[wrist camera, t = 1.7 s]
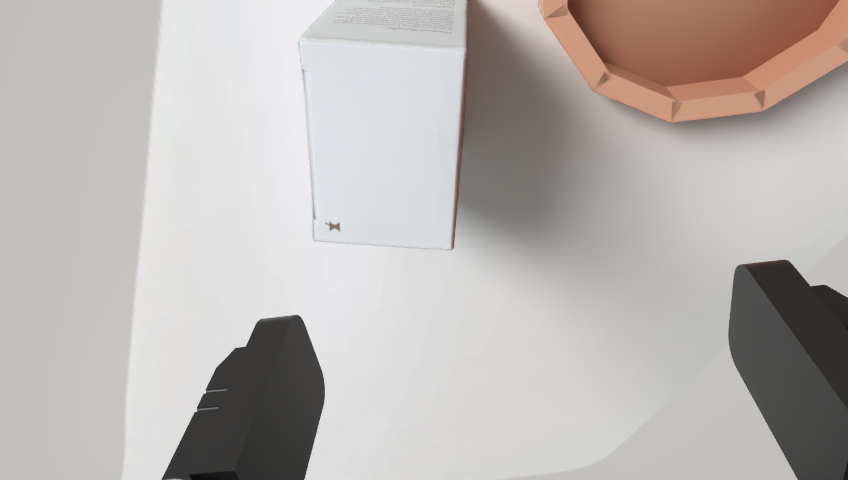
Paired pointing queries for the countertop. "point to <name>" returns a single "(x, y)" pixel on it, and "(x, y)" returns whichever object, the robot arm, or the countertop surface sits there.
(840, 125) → the countertop surface
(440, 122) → the small box
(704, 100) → the round tray
